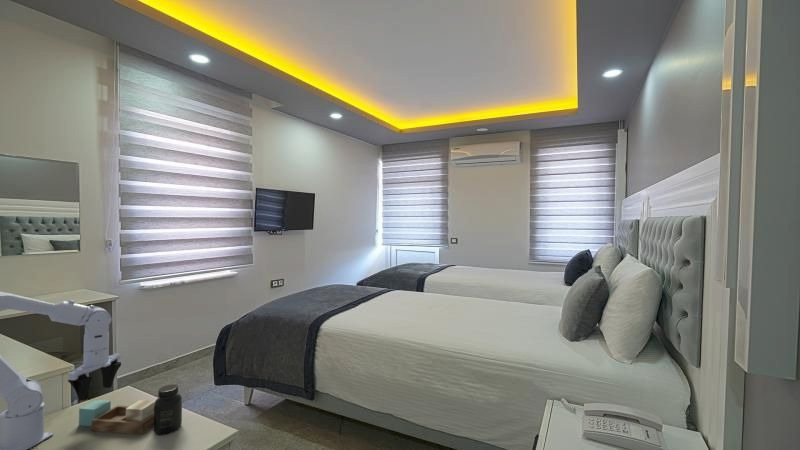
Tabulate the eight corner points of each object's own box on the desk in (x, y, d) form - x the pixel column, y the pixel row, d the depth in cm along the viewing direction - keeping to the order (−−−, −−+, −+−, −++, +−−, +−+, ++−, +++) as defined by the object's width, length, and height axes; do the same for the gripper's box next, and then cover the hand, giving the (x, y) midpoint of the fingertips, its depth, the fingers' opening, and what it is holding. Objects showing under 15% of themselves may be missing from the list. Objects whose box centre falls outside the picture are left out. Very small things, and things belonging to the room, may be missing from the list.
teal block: (78, 425, 100) (79, 408, 100) (95, 416, 105) (95, 399, 105) (94, 426, 100) (95, 409, 100) (110, 417, 105) (110, 400, 105)
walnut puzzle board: (91, 430, 98) (91, 409, 98) (117, 414, 106) (117, 395, 106) (142, 434, 97) (142, 413, 97) (164, 417, 105) (164, 398, 105)
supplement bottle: (187, 423, 102) (187, 383, 102) (169, 437, 96) (170, 394, 96) (166, 421, 103) (166, 381, 103) (147, 435, 96) (148, 392, 96)
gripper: (84, 358, 95) (83, 406, 95) (129, 340, 110) (128, 382, 110) (61, 357, 96) (60, 405, 96) (109, 339, 110) (108, 381, 110)
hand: (95, 393), depth 103 cm, fingers open, 7 cm apart
